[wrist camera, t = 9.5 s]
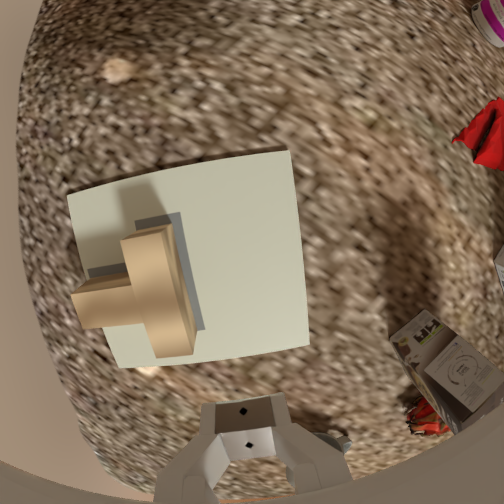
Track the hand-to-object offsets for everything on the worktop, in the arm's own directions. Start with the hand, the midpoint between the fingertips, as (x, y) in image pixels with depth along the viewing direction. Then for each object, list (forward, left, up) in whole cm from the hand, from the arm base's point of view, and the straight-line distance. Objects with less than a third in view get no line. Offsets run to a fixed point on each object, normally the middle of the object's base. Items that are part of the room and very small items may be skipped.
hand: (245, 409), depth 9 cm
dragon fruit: (+29, +26, -19) cm, 44 cm away
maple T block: (+1, -10, -18) cm, 20 cm away
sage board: (0, -5, -18) cm, 19 cm away
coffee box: (+15, +21, -19) cm, 32 cm away
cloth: (-12, +40, -19) cm, 46 cm away
